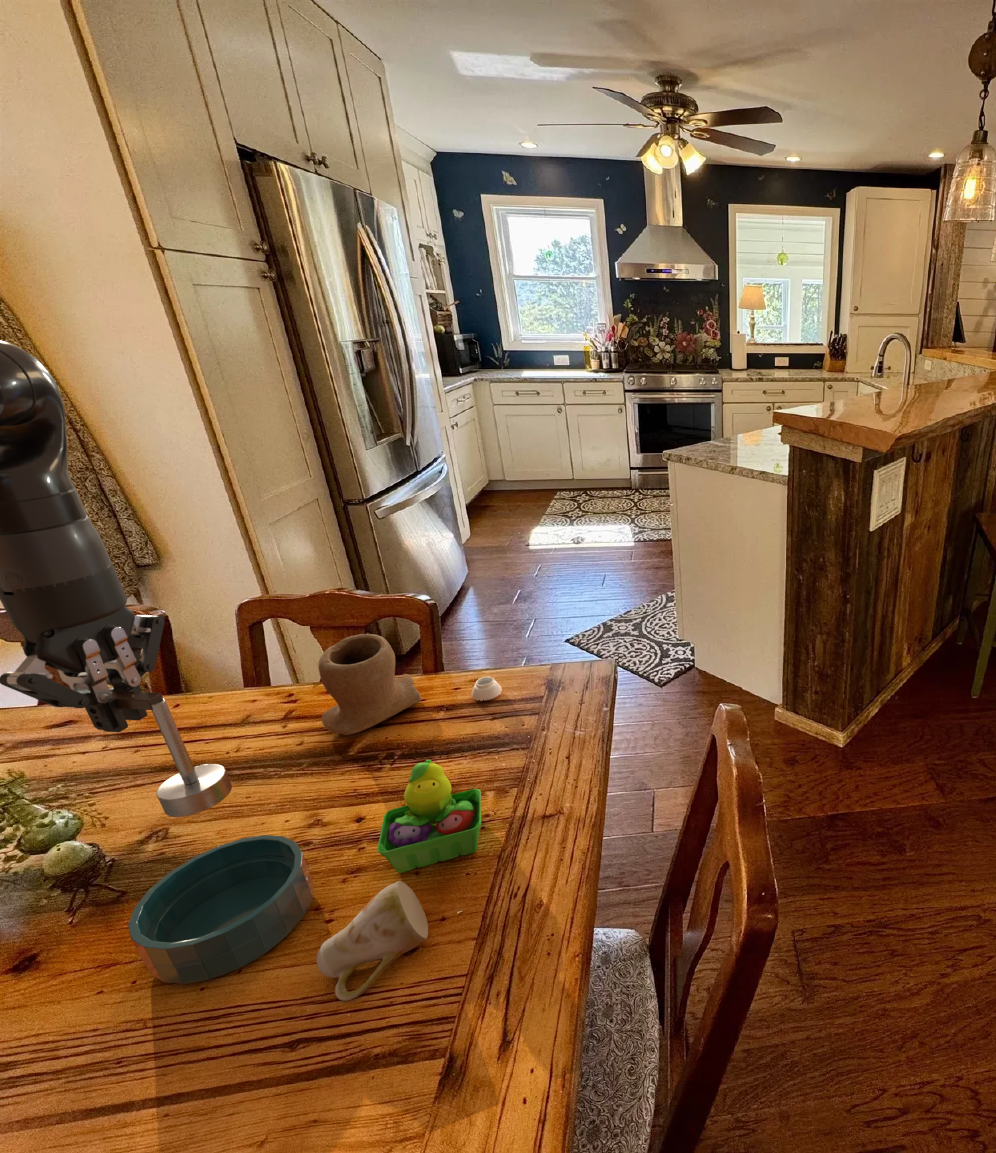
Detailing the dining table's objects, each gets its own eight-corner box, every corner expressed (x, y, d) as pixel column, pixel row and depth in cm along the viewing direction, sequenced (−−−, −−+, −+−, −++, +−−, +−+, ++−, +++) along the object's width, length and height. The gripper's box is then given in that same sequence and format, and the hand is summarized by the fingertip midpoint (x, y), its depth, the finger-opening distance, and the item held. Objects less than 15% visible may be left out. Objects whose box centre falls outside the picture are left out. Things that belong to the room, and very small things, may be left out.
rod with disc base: (245, 782, 69) (205, 682, 64) (199, 819, 64) (153, 714, 59) (146, 776, 70) (100, 677, 65) (94, 812, 65) (38, 708, 60)
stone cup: (349, 751, 97) (325, 669, 91) (315, 724, 103) (290, 646, 97) (441, 706, 108) (425, 631, 103) (406, 684, 114) (389, 612, 109)
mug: (313, 958, 66) (345, 867, 66) (412, 956, 71) (441, 871, 71) (302, 1007, 59) (337, 906, 60) (412, 1001, 64) (444, 908, 65)
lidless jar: (490, 704, 109) (507, 689, 114) (487, 690, 108) (505, 675, 113) (466, 700, 110) (484, 685, 115) (463, 686, 109) (481, 672, 114)
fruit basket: (385, 885, 74) (363, 814, 70) (393, 833, 82) (375, 765, 77) (487, 857, 78) (473, 787, 74) (486, 810, 86) (473, 744, 82)
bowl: (110, 982, 63) (86, 941, 60) (233, 867, 76) (218, 830, 74) (242, 995, 62) (224, 954, 60) (343, 876, 75) (331, 839, 73)
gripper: (94, 543, 63) (156, 686, 70) (-84, 598, 51) (13, 766, 57) (163, 546, 63) (218, 689, 69) (2, 602, 50) (88, 770, 57)
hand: (125, 723), depth 63 cm, fingers closed on rod with disc base, 1 cm apart
